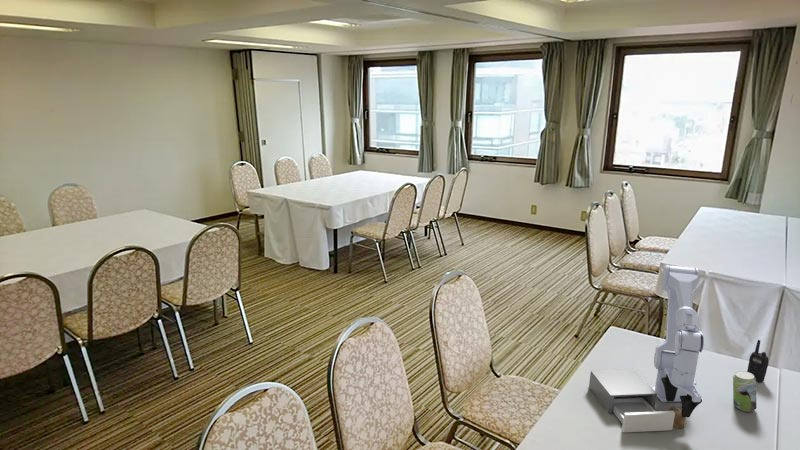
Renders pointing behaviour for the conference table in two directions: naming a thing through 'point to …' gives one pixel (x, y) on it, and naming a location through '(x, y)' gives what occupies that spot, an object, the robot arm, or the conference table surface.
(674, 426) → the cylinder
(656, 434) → the conference table surface
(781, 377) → the conference table surface
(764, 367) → the two-way radio
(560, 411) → the conference table surface
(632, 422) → the tray
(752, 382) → the beverage can
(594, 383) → the housing
